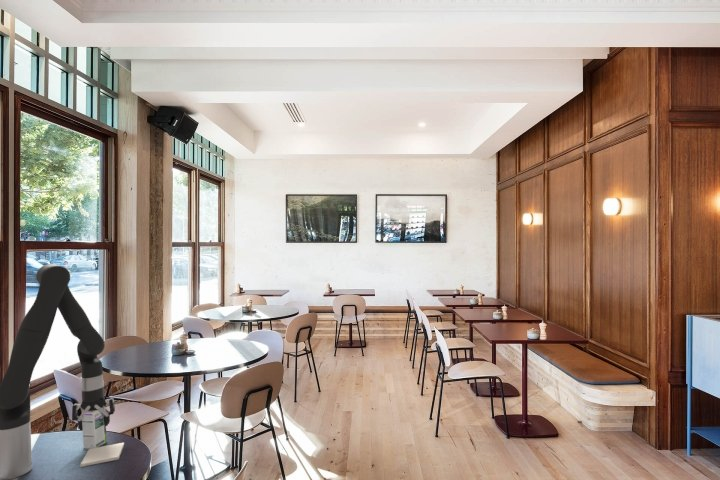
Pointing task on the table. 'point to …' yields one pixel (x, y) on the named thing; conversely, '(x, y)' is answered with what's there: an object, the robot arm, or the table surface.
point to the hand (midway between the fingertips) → (94, 427)
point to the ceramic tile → (102, 454)
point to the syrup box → (93, 429)
